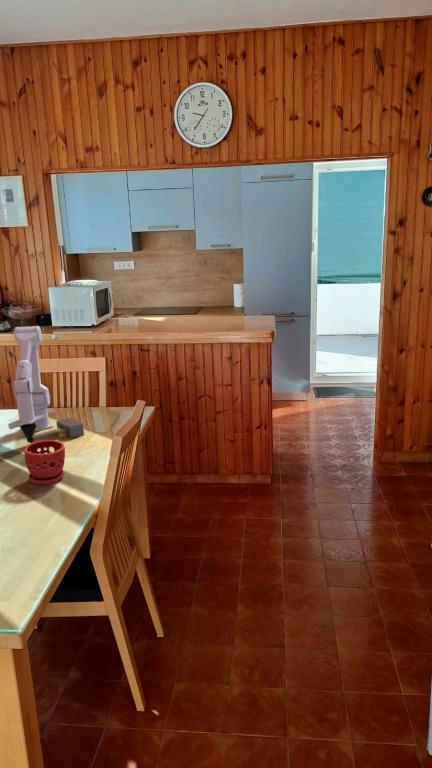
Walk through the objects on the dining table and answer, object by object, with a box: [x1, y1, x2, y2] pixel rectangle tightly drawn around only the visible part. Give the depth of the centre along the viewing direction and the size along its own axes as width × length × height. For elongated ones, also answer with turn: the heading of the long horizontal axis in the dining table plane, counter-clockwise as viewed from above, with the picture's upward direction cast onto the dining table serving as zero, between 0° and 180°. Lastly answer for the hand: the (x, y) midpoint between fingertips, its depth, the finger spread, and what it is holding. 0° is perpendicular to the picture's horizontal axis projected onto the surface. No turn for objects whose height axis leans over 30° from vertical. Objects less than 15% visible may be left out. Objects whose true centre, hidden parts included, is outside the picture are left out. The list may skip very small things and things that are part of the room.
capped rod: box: [30, 428, 67, 444], centre depth 238 cm, size 3×14×3 cm, turn 134°
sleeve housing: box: [56, 417, 85, 439], centre depth 244 cm, size 11×6×5 cm, turn 42°
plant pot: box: [23, 440, 66, 485], centre depth 200 cm, size 13×13×12 cm
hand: (29, 441), depth 233 cm, fingers closed
